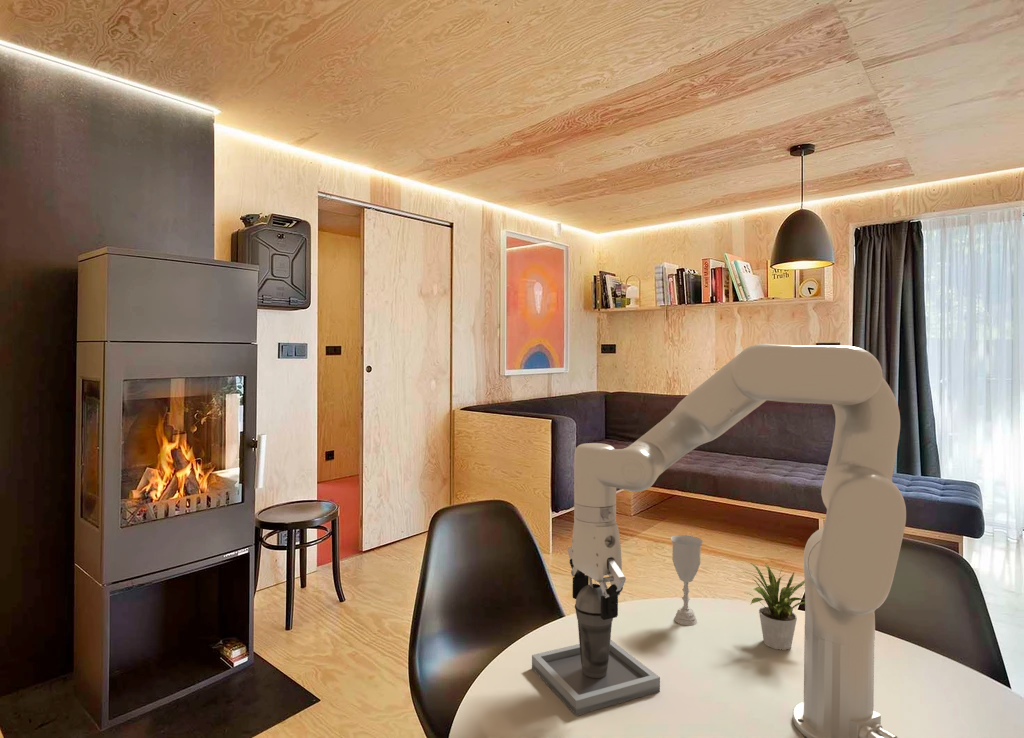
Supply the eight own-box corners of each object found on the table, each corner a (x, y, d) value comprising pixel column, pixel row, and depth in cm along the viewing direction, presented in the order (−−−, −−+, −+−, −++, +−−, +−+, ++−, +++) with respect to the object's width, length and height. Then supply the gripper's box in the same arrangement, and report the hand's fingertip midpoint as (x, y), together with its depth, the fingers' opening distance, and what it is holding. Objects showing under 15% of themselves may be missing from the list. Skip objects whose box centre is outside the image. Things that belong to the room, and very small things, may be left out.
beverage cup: (614, 684, 100) (614, 568, 101) (572, 679, 102) (572, 565, 102) (615, 664, 107) (615, 556, 108) (576, 660, 109) (576, 553, 109)
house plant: (719, 636, 121) (720, 559, 121) (758, 620, 129) (759, 548, 129) (783, 667, 109) (784, 581, 109) (822, 647, 117) (823, 567, 117)
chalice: (663, 615, 131) (664, 536, 131) (689, 611, 133) (689, 533, 133) (682, 629, 124) (682, 546, 124) (708, 625, 126) (709, 543, 126)
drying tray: (659, 691, 101) (660, 677, 101) (576, 715, 94) (576, 700, 94) (607, 649, 115) (607, 637, 115) (531, 668, 108) (531, 654, 108)
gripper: (641, 522, 98) (640, 623, 98) (586, 499, 114) (586, 587, 114) (604, 527, 95) (603, 631, 95) (553, 503, 110) (552, 593, 111)
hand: (594, 607), depth 104 cm, fingers open, 9 cm apart
